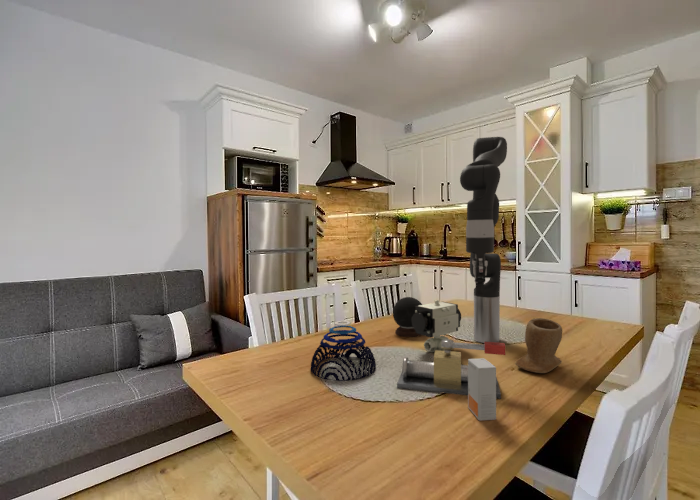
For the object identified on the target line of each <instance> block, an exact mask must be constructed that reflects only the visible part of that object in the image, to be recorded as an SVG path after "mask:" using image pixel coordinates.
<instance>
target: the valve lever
mask: <svg viewBox="0 0 700 500" xmlns="http://www.w3.org/2000/svg"><path fill="white" fill-rule="evenodd" d="M442 349H444V350H451V351H452V350H454V349H461V350H463V349H464V350H465V349H466V350H476V351H484V354H486V355H487V354H488V355H498V356H506V344H505V342H484V343H482V344H481V343H467V342H456V341H454V340H453V339H450V338H448V339H443V340H442Z"/></svg>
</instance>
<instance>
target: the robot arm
mask: <svg viewBox="0 0 700 500" xmlns="http://www.w3.org/2000/svg"><path fill="white" fill-rule="evenodd" d="M507 153H508V142H507V140H506V138H505V137H503V136H488V137H478V138H476V139H475V140H474V142H473V148H472V162H471V163H469V164H467V165H466V166H464V168H463V169H462V170H461V173H460V176H459V183H460V185H461V187H462V189H464V190H465V191H467V192H468V191H469V192H472V199H471V200H469V201H467V204H466V227H465V234H466V235H465V251H466V252H467V253H468V254H470V255H469V272H470V273H469V274H470V276H471V277H472V278H474V283H475V286H474V288H473V340H474V341H476V342H478V343H482V344H484V342H497V343H500V331H501V329H500V327H501V325H500V324H501V323H500V314H501V313H500V312H501V311H500V290H501V269H502V260H501V257H500V255H499V254H498V253H495V252H494V251H495V226H496V225H497V223H498V221H499V218H500V200H499V197H498V195H497V190H498V188H499V187H498V186H499V184H500V180H501V171H500V169H499V167H500V166H501V165H502V164H503V163H504V162H505V160H506V158H507ZM486 278H487V279H489V280H488V281H487V282H486Z"/></svg>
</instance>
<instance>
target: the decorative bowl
mask: <svg viewBox="0 0 700 500" xmlns="http://www.w3.org/2000/svg"><path fill="white" fill-rule="evenodd" d="M351 323H352V322H351V321H348V320H338V321H335V322H334V325H335V326H333V327H330V328H329V330H328V331H329V332H327V333H326V334H324V335H323V338H322V339H321V340H320V342H319V345H318V347H317V348H316V349H315V351H314V353H313V355H312V358H311V361H310V372H311V373H312V375H314V376H315V377H317V378H321V379H323V380H328V381H333V382H334V381H335V382H350V381H355V380H356V381H357V380H362V379H364V378H367V377H369V376H371V375H373V374H374V373H375V372H376V370H377V364H376V363H377V362H376V358H375V355H374V354H373V351H372V350H371V348H370V347H369V346H365V344H366V340H365V338H364V337H363V335H362V334H361V333H360V332H359V331H357V328H356V327H354V326H352V325H351ZM339 328H340V329H339ZM341 328H349V329H341ZM334 329H336V330H334ZM338 329H339V330H338ZM336 337H337V338H338V337H351V338H343V339H342V338H338V339H336ZM360 340H361V342H360ZM324 341H325V342H324ZM329 342H330V343H335V344H333V345H332V344H331V345H330V343H329ZM323 351H324V352H323ZM353 354H354V356H351V355H353ZM344 358H345V359H344ZM351 358H352V359H358V360H359V361H358V365H357V366H358V367H357V366H356V364H355V363H354V362H353V360H352V359H351ZM331 359H332V360H331ZM333 359H334V360H333ZM335 359H336V360H335ZM339 361H340V362H339ZM328 364H335V365H337V366H339V367H340V369H341V370H342V371H343V372H342V371H341V370H340V369H338V368H337V367H335V366H328V367H325V368H324V366H327V365H328ZM343 365H345V366H346V368H347V369H348V370H347V369H346V368H345V367H344V366H343ZM323 368H324V369H323ZM322 369H323V370H322ZM352 369H353V370H352ZM329 370H336V372H337V373H336V372H334V371H329ZM326 371H328V372H326ZM348 371H349V373H350V374H349V373H348ZM344 373H345V376H346V377H345V376H344ZM354 373H355V374H354ZM324 374H325V375H324ZM331 376H333V378H334V379H330V378H329V377H331ZM339 376H341V379H340V378H339ZM346 378H347V379H346Z"/></svg>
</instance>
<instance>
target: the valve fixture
mask: <svg viewBox="0 0 700 500" xmlns="http://www.w3.org/2000/svg"><path fill="white" fill-rule="evenodd" d="M492 365H493V366H495V364H492ZM401 369H402V371H401V373H400V375H399V378H398V380H397V383H396V388H397V389H404V390H413V391H421V392H423V391H424V392H433V393H440V392H444V393H443V394H449V395H450V394H451V395H459V396H460V395H462V396H468V364H462V352H461V351H452V350H445V351H440V350H435V352H434V354H433V361H425V360H423V361H422V360H410V359H409V358H408V357H403V360H402V368H401ZM497 399H498V400H501V399H502V394H501V390H500V385H499V382H498V377H497V376H496V400H497Z"/></svg>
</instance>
